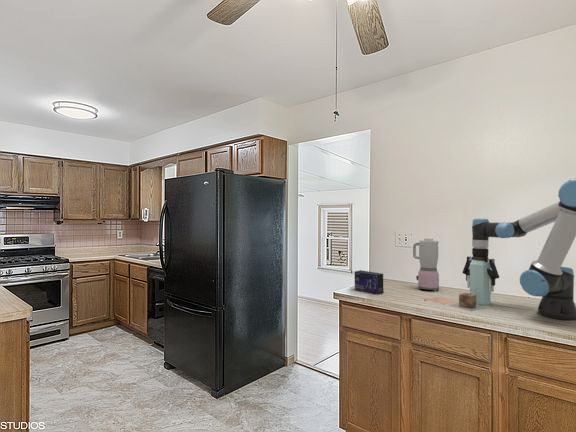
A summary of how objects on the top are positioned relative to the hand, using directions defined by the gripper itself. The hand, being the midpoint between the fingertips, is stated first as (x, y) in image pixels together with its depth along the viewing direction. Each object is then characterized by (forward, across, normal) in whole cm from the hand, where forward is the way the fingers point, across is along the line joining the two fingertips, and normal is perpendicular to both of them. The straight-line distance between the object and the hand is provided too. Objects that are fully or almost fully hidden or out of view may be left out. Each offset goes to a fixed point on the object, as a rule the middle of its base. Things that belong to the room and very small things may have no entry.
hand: (480, 289), depth 186 cm
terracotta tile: (+8, +13, +13) cm, 20 cm away
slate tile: (+8, -2, +13) cm, 15 cm away
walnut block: (+7, -2, +13) cm, 15 cm away
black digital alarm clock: (+8, +51, +31) cm, 60 cm away
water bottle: (+8, 0, 0) cm, 8 cm away
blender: (+8, +40, -6) cm, 41 cm away
